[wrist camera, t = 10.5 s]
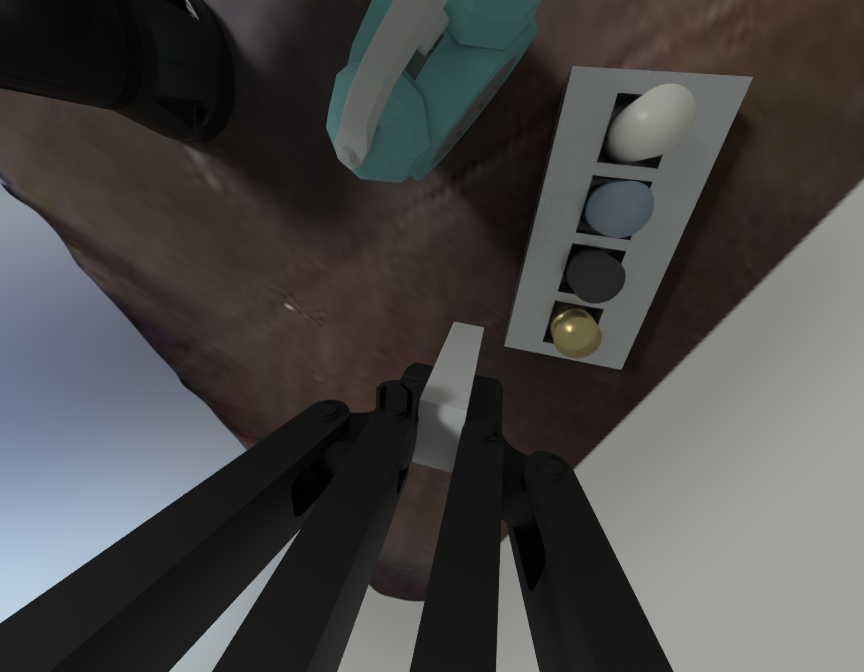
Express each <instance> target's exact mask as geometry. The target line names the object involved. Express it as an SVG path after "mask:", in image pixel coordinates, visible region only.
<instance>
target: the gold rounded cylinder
mask: <svg viewBox="0 0 864 672" xmlns="http://www.w3.org/2000/svg"><path fill="white" fill-rule="evenodd" d="M549 326H550V329H551V333H552V337H553V340H554V344H555V347H556V348H557V350H558V351H559V352H560V353H561V354H562V355H564V356H566V357H569V358H583V357H586V356H589V355H591V354H592V353H594V352H595V351H596V350H597V349H598V347H599V346H600V344H601V341H602V333H601V330H600V328H599V326H598V325H597V323H596V322H595V320H594V319H593V317H592V316H591V314H590V312H589V311H588V309H587V308H586V306H583V305H578V304H572V303H566V302H561V301H560V302H558V303H557V304H555V305H554V306H553V308H552V312H551V315H550V318H549Z"/></svg>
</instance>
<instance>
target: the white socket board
mask: <svg viewBox="0 0 864 672" xmlns="http://www.w3.org/2000/svg"><path fill="white" fill-rule="evenodd" d="M752 78H753V77H745V76H728V75H712V74H695V73H679V72H662V71H646V70H629V69H613V68H597V67H580V66H572V68H571V70H570V72H569V74H568V76H567V79H566V81H565V83H564V86H563V91H562V95H561V99H560V103H559V107H558V112H557V116H556V120H555V124H554V128H553V133H552V137H551V141H550V145H549V149H548V153H547V158H546V162H545V166H544V170H543V174H542V179H541V183H540V187H539V191H538V195H537V199H536V204H535V208H534V212H533V216H532V220H531V225H530V229H529V233H528V237H527V241H526V246H525V250H524V254H523V258H522V262H521V266H520V271H519V275H518V279H517V283H516V287H515V292H514V296H513V300H512V304H511V308H510V313H509V317H508V321H507V325H506V329H505V343H504V346H506V347H511V348H516V349H521V350H526V351H531V352H536V353H541V354H546V355H550V356H555V357H560V358H565V359H570V360H575V361H580V362H585V363H590V364H595V365H600V366H605V367H610V368H615V369H620V370H621V369H622V367H623V365H624V363H625V360H626V358H627V356H628V354H629V352H630V349H631V347H632V345H633V343H634V340H635V338H636V336H637V334H638V332H639V329H640V327H641V325H642V323H643V320H644V318H645V316H646V314H647V311H648V309H649V307H650V305H651V303H652V300H653V298H654V296H655V294H656V291H657V289H658V287H659V285H660V283H661V280H662V278H663V276H664V274H665V271H666V269H667V267H668V265H669V263H670V260H671V258H672V256H673V254H674V251H675V249H676V247H677V245H678V243H679V240H680V238H681V236H682V234H683V231H684V229H685V227H686V225H687V223H688V220H689V218H690V216H691V214H692V211H693V209H694V207H695V205H696V202H697V200H698V198H699V196H700V194H701V191H702V189H703V187H704V185H705V182H706V180H707V178H708V176H709V174H710V171H711V169H712V167H713V165H714V162H715V160H716V158H717V156H718V154H719V151H720V149H721V147H722V145H723V142H724V140H725V138H726V136H727V134H728V131H729V129H730V127H731V125H732V122H733V120H734V118H735V116H736V114H737V111H738V109H739V107H740V105H741V102H742V100H743V98H744V96H745V93H746V91H747V89H748V87H749V85H750V82H751V80H752ZM663 84H678V85H681V86H683V87H685V88H687V89H688V90H689V91H690V92H691V94H692V95H693V97H694V100H695V104H696V116H695V120H694V123H693V126H692V128H691V130H690V131H689V133H688V135H687V136H686V137H685V139H684V140H683V141H682V142H681V143H680V144H679V145H678V146H677V147H675V148H674V149H672V150H671V151H669V152H667V153H665V154H663V155H660V156H656V157H652V158H648V159H643V160H639V161H635V162H631V163H618V162H615V161H613V160H612V159H610V158H609V156H608V155H607V154H606V152H605V149H604V137H605V133H606V130H607V127H608V125H609V123H610V122H611V120H612V119H613V118H614V117H615V116H616V115H617V114H618V113H619V112H620V111H622V110H623V109H625V108H626V107H627V106H629V105H630V104H631V103H633V102H634V101H635V100H637V99H638V98H639V97H641V96H642V95H644V94H645V93H646V92H648V91H649V90H651V89H653V88H655V87H657V86H660V85H663ZM622 181H637V182H640V183H643V184H644V185H646V186H647V187H648V188H649V189H650V190H651V192H652V194H653V197H654V210H653V213H652V215H651V218H650V219H649V221H648V222H647V224H646V225H645V226H644V227H643V228H642V229H641V230H639V231H638V232H636V233H635V234H633V235H630V236H627V237H623V238H612V237H609V236H606V235H604V234H602V233H600V232H598V231H596V230H593V229H591V228H589V227H588V226H587V225H586V224H585V223H584V222H583V220H582V218H581V213H582V209H583V206H584V203H585V199H586V196H587V194H588V192H589V191H590V190H592V189H593V188H594V187H596V186H598V185H600V184H603V183H611V182H622ZM582 246H594V247H597V248H599V249H601V250H602V251H604V252H605V253H607V254H608V255H610V256H611V257H613V258H614V259H616V260H617V261H619V262H620V263H621V264H622V266H623V268H624V270H625V274H626V279H625V283H624V286H623V288H622V290H621V291H620V292H619V293H618V294H617V295H616V296H615V297H614V298H612V299H611V300H609V301H606V302H603V303H598V304H593V303H587V302H585V301H583V300H581V299H580V298H578V297H577V295H576V294H575V292H574V291H573V289H572V288H571V286H570V284H569V283H568V281H567V280H566V278H565V276H564V273H563V272H564V269H565V265H566V262H567V259H568V255H569V254H570V253H571V252H572V251H573V250H575V249H577V248H579V247H582ZM560 301H561V302H566V303H572V304H578V305H583V306H586V308H587V309H588V311H589V312H590V314H591V316H592V317H593V319H594V320H595V322H596V323H597V325H598V326H599V328H600V330H601V333H602V341H601V344H600V346H599V347H598V349H597V350H596V351H595V352H594V353H592V354H591V355H589V356H586V357H583V358H569V357H566V356H564V355H562V354H561V353H560V352H559V351H558V350H557V348H556V347H555V344H554V340H553V337H552V333H551V329H550V326H549V318H550V315H551V312H552V308H553V306H554V305H555V304H557V303H558V302H560Z"/></svg>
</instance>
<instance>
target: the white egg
mask: <svg viewBox="0 0 864 672" xmlns="http://www.w3.org/2000/svg"><path fill="white" fill-rule="evenodd" d="M695 116H696V104H695V100H694V97H693V95H692V94H691V92H690V91H689V90H688V89H687V88H685V87H683V86H681V85H678V84H663V85H660V86H657V87H655V88H653V89H651V90H649V91H648V92H646V93H645V94H644V95H642V96H641V97H639V98H638V99H637V100H635V101H634V102H633V103H631V104H630V105H629V106H627V107H626V108H625V109H623V110H622V111H620V112H619V113H618V114H617V115H616V116H615V117H614V118H613V119H612V120H611V122H610V123H609V125H608V127H607V130H606V133H605V137H604V149H605V152H606V154H607V155H608V156H609V158H610V159H612V160H613V161H615V162H618V163H631V162H635V161H639V160H643V159H648V158H652V157H656V156H660V155H663V154H665V153H667V152H669V151H671V150H672V149H674V148H675V147H677V146H678V145H679V144H680V143H681V142H682V141H683V140H684V139H685V137H686V136H687V135H688V133H689V131H690V130H691V128H692V126H693V123H694V120H695Z"/></svg>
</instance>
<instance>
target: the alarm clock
mask: <svg viewBox="0 0 864 672" xmlns="http://www.w3.org/2000/svg"><path fill="white" fill-rule="evenodd" d="M541 2H542V0H372V1H371V4H370V6H369V8H368V10H367V13H366V15H365V17H364V19H363V21H362V24H361V26H360V28H359V30H358V33H357V35H356V37H355V39H354V42H353V44H352V48H351V52H350V56H349V60H348V64H347V66H346V67H345V68H344V69H343V70H341V71H340V72H339V73H338V74H337V76H336V80H335V85H334V89H333V93H332V98H331V102H330V107H329V111H328V118H327V125H326V129H327V131H328V134H329V136H330V139H331V141H332V144H333V146H334V149H335V151H336V154H337V158H338V159H339V160H340V161H341V162H342V163H343V164H344V165H346V166H347V167H348V168H349V169H350V170H351V171H352V172H353V173H354V174H355V175H356V176H357V177H358V178H360V179H366V180H374V181H385V182H396V183H402V182H403V181H404V180H406V179H407V178H409V177H410V176H412V177H413V178H414V179H415V180H416V181H417V182H420V181H421V180H422V179H423V178H425V177H426V176H427V175H428V174H429V173H430V172H431V171H432V170H433V169H434V168H435V167H436V166H437V165H438V164H439V163H440V161H441V160H442V159H443V158H444V157H445V156H446V155H447V154H448V152H449V151H450V150H451V149H452V148H453V147H454V146H455V144H456V143H457V142H458V141H459V139H460V138H461V137H462V136H463V135H464V133H465V132H466V131H467V130H468V129H469V127H470V126H471V125H472V124H473V122H474V121H475V120H476V119H477V117H478V116H479V115H480V113H481V112H482V111H483V110H484V108H485V107H486V106H487V105H488V103H489V102H490V101H491V100H492V98H493V97H494V96H495V95H496V93H497V92H498V90H499V89H500V87H501V86H502V84H503V83H504V82H505V80H506V79H507V78H508V76H509V75H510V74H511V72H512V71H513V69H514V68H515V66H516V65H517V63H518V62H519V60H520V59H521V57H522V56H523V55H524V53H525V52H526V50H527V49H528V47H529V45H530V43H531V42H532V40H533V38H534V36H535V35H536V33H537V31H538V26H537V24H536V23H535V21H534V20H533V17H534V15H535V13H536V11H537V9H538V7H539V6H540V4H541Z"/></svg>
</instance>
